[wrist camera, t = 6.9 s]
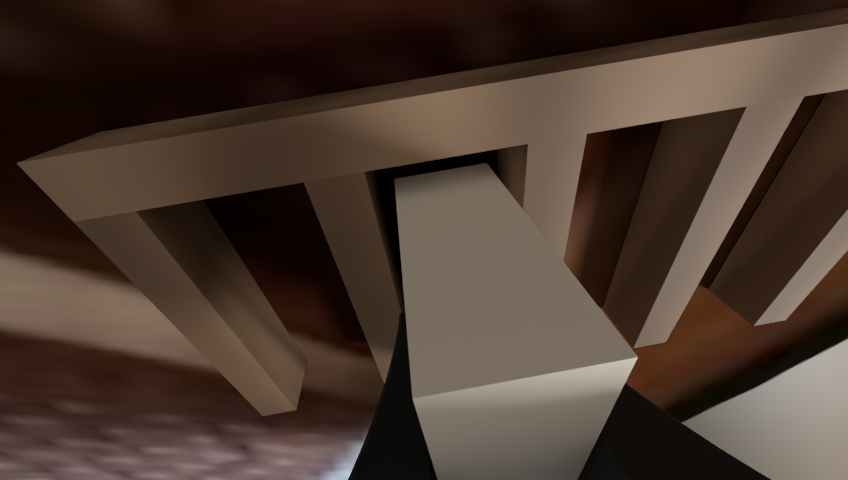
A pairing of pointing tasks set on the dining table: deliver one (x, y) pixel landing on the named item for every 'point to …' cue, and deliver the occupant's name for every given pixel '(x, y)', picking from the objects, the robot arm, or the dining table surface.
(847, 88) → the notched rack
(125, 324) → the dining table surface
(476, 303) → the frame block
